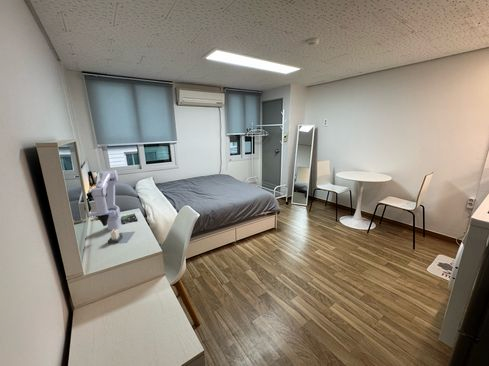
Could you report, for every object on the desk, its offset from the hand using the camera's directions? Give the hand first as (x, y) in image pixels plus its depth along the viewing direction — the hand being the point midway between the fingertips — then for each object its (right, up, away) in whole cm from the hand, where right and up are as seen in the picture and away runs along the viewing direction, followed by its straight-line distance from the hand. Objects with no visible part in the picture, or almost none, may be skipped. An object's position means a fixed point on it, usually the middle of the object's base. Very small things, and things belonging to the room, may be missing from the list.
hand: (105, 225), depth 137 cm
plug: (+7, -10, 0) cm, 12 cm away
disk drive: (-1, -3, +31) cm, 32 cm away
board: (+9, -10, +3) cm, 14 cm away
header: (+7, -10, 0) cm, 12 cm away
